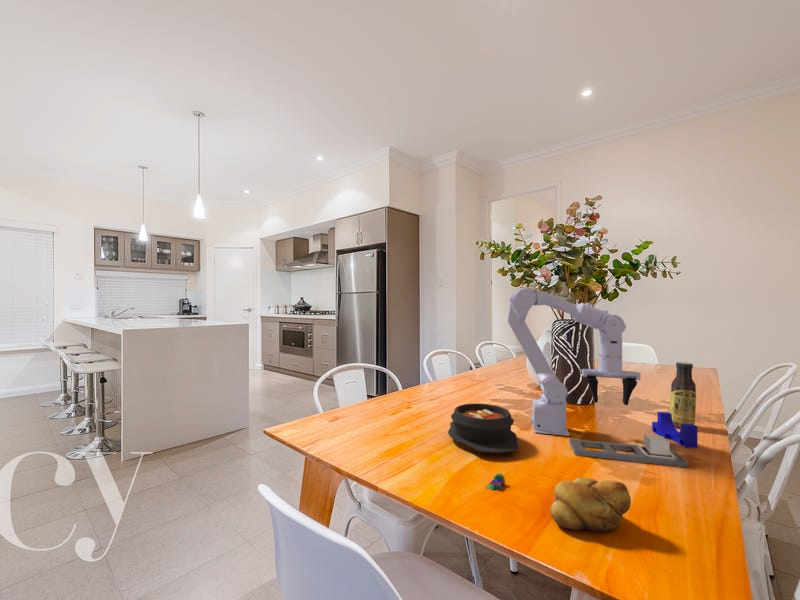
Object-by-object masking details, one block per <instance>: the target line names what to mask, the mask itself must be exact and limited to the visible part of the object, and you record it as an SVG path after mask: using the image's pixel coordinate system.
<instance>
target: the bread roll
mask: <svg viewBox="0 0 800 600" xmlns="http://www.w3.org/2000/svg"><path fill="white" fill-rule="evenodd" d="M553 490H554V498H553V503H552V504H551V506H550V515H551V518H552V519H553V522H554V523H555V524H557V525H558V526H559V527H561V528H564V529H567V530H571V531H580V530H581V531H582V530H584V529H588V530H590V531H596V532H609V531H612V530H615V529H617V528H618V527H619V525H620V524H621V519H622V518H623V515H625V514H626V513H627V512H628V511H629V510H630V508H631V505H632V499H631V495H630V492H629V490H628V487H627V486H626V484H625V483H623V482H621V481H617V480H600V481H598V480H596V479H594V478H589V477H582V476H579V477H577V478H576V479H574V480H572V481H571V480H568V479H567V480H563V481H561V482H559V483H557V484H556V486H555V487H554V489H553Z"/></svg>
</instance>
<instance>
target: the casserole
mask: <svg viewBox="0 0 800 600" xmlns="http://www.w3.org/2000/svg"><path fill="white" fill-rule="evenodd" d="M450 419H451V420H452V421H451V422H450V423H449V426H450V427H449V428H448V429H449V430H448V431H447V433H448V435H449V437H450V438H451V439H452V440H454V441H456V442H458V443H461V444H462V445H465V446H468V447H470V448H472V449H473V450H475V451H477V452H480V453H487V454H503V453H504V454H505V453H510V452H516V451H517V450H519V449H520V445H519V442H518V436H517V434H516V433H515V432H514V431H513V430H511V429H512V426H513V425H514V423H515V420H514V418H512V416H511V412H510V411H509V410H508V409H506V408H504V407H501V406H498V405H494V404H488V403H464V404H460V405H457V406H456V407H455V408H454V410H453V413H452V414H451V415H450Z"/></svg>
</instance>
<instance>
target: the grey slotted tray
mask: <svg viewBox="0 0 800 600" xmlns="http://www.w3.org/2000/svg"><path fill="white" fill-rule="evenodd" d="M568 439H569V440H568V443H569V446H570V448H571V450H572V452H573V454H574V456H582V457H588V458H596V459H597V458H598V459H608V460H616V461H623V462H624V461H626V462H635V463H642V464H643V463H644V464H650V463H651V464H653V465H661V466H670V467H679V468H687V469H688V468H689V462H688V461H687V460H686V459H685V458H684V457H682V456H681V455H680V454H679V453H678V452H677V451H676V450H675V449H673V448H670V457H664V456H655V455H648V454H647V453H646V452H645V451H644V445H637V444H627V443H626V444H625V443H616V442H605V441H597V440H587V439H577V438H568ZM584 447H586V449H585V448H584ZM587 448H593V449H587ZM595 448H596V449H602V450H596V449H595ZM616 451H625V452H632V453H633V454H632V453H623V452H616Z"/></svg>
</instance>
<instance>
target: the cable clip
mask: <svg viewBox="0 0 800 600" xmlns="http://www.w3.org/2000/svg"><path fill="white" fill-rule="evenodd" d="M679 429H680V430H679V431H678V430H677V427H675V426H674V424H673V421H672V414H671V413H670V411H669V412H668V411H657V421H652V422H651V431H652V432H653V433H655V435H657V436H663V437H664V438H665V439H666V440H669V439H670V440H672V441H673V442H675V443H676V444H678V445H680V446H682V447H683V448H687V449H698V425H696V424H681V428H679Z"/></svg>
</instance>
